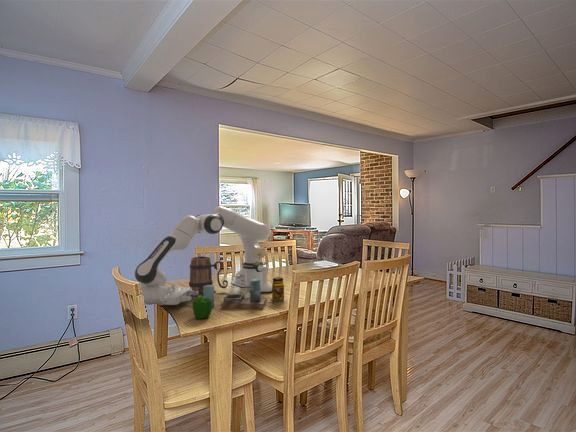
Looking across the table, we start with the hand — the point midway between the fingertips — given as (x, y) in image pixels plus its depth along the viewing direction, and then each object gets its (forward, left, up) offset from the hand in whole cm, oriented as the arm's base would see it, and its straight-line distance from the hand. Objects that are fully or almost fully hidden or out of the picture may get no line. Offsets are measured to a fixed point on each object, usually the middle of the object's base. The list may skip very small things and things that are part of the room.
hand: (194, 295), depth 161 cm
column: (+6, +4, -5) cm, 9 cm away
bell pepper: (+17, -8, -5) cm, 20 cm away
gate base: (+18, +16, -5) cm, 25 cm away
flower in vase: (+5, +43, -5) cm, 43 cm away
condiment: (+25, +32, -5) cm, 41 cm away
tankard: (-18, +21, -5) cm, 28 cm away
